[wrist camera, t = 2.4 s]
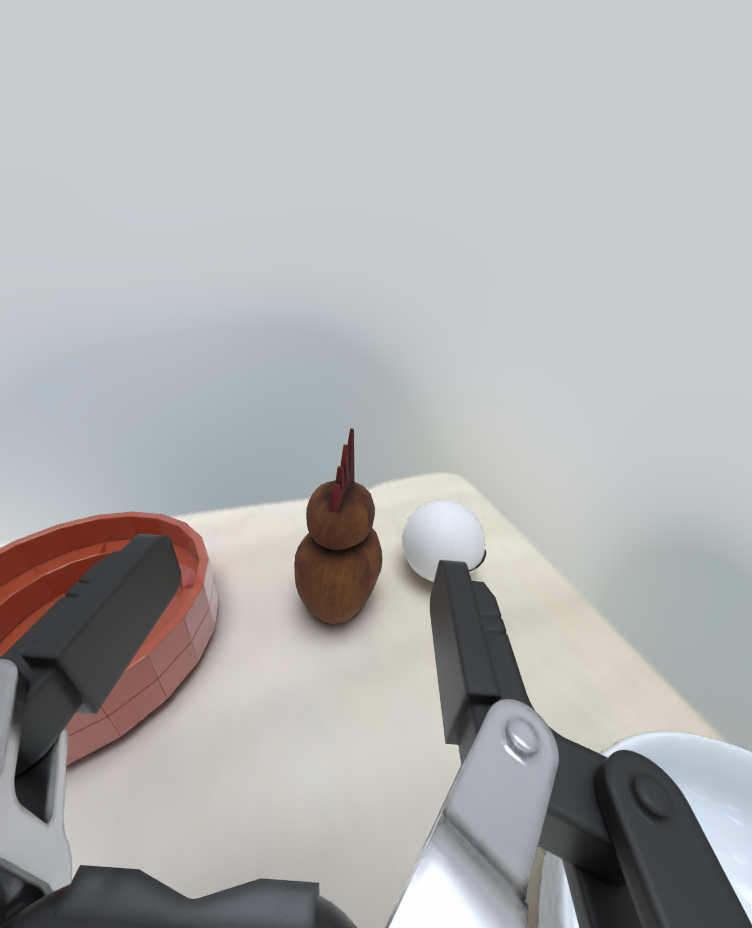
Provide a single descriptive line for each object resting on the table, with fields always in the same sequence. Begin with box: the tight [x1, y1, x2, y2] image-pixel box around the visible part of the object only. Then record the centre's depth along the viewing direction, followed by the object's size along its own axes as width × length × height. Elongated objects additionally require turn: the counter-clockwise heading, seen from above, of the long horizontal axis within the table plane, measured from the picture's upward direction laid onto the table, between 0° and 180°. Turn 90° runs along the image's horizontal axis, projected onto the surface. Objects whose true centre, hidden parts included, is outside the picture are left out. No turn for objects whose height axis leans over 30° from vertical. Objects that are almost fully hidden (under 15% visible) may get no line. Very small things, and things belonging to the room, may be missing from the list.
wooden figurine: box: [294, 428, 382, 624], centre depth 24 cm, size 7×6×15 cm
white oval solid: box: [402, 500, 486, 582], centre depth 31 cm, size 10×7×7 cm
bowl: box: [0, 512, 218, 766], centre depth 22 cm, size 15×15×6 cm
